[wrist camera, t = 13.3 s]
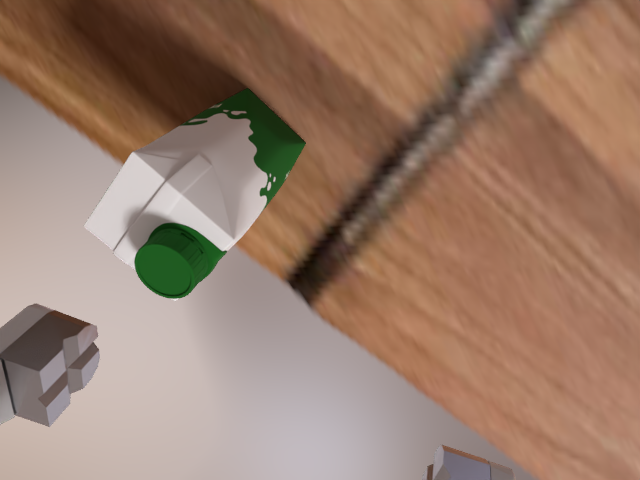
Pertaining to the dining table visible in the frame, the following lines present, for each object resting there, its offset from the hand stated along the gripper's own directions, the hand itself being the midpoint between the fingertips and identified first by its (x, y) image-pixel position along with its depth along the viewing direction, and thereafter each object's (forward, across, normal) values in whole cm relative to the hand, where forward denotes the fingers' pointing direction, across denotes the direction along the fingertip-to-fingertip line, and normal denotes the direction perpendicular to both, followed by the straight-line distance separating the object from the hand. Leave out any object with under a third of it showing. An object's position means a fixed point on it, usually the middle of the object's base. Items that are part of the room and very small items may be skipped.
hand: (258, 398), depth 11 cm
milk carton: (+34, +12, +9) cm, 37 cm away
